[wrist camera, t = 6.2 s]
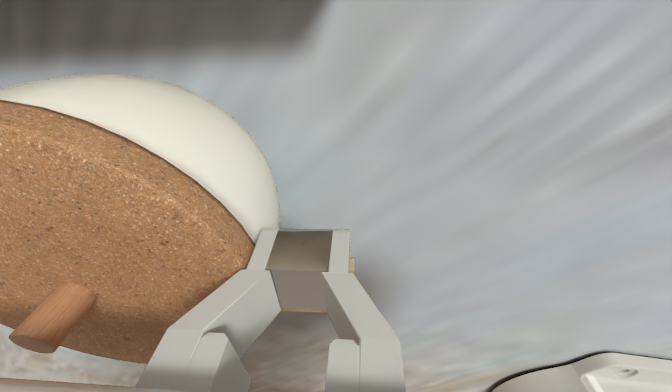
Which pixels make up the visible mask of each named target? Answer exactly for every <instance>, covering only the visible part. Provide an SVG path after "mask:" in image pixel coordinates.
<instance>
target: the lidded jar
mask: <svg viewBox="0 0 672 392" xmlns="http://www.w3.org/2000/svg"><path fill="white" fill-rule="evenodd" d="M279 227H280V203H279V196H278V190H277V186H276V182H275V179H274V176H273V173H272V170H271V167H270V165H269V163H268V161H267V159H266V157H265V155H264V154H263V152H262V150H261V149H260V148H259V146H258V145H257V143H256V142H255V141H254V139H253V138H252V137H251V135H250V134H249V133H248V132H247V131H246V130H245V129H244V128H243V127H242V126H241V125H240V123H239V122H237V121H236V120H235V119H234V118H233V117H231V116H230V115H229V114H228V113H227V112H225V111H224V110H223V109H221V108H219V107H218V106H216V105H215V104H213V103H212V102H210V101H209V100H207V99H205V98H203V97H201V96H199V95H197V94H195V93H193V92H191V91H189V90H187V89H185V88H182V87H179V86H176V85H173V84H170V83H167V82H164V81H159V80H153V79H148V78H143V77H137V76H132V75H121V74H87V75H74V76H68V77H61V78H54V79H48V80H42V81H35V82H29V83H23V84H19V85H15V86H11V87H8V88H4V89H0V323H1V324H3V325H5V326H8V327H10V328H13V329H15V330H14V331H13V332H12V333H11V334H10V335H9V339H10V340H11V341H12V342H13V343H15V344H16V345H18V346H20V347H23V348H25V349H28V350H31V351H35V352H39V353H53V352H54V351H55V350H56V349H57V348H58V347H59V346H63V347H66V348H69V349H73V350H76V351H80V352H84V353H88V354H92V355H96V356H100V357H106V358H111V359H117V360H123V361H129V362H136V363H149V361H150V359H151V357H152V356H153V354H154V352H155V350H156V348H157V347H158V345H159V343H160V341H161V339H162V338H163V336H164V334H165V332H166V331H167V329H168V328H169V327H170V326H171V325H173V324H174V323H175V322H176V321H178V320H179V319H180V318H181V317H183V316H184V315H185V314H186V313H187V312H189V311H190V310H191V309H192V308H194V307H195V306H196V305H197V304H199V303H200V302H201V301H202V300H204V299H205V298H206V297H207V296H209V295H210V294H211V293H212V292H214V291H215V290H216V289H217V288H219V287H220V286H221V285H222V284H224V283H225V282H226V281H227V280H228V279H230V278H231V277H232V276H233V275H235V274H236V273H237V272H238V271H240V270H241V269H246V268H247V265H248V263H249V260H250V258H251V255H252V253H253V250H254V248H255V245H256V243H257V240H258V238H259V235H260V233H261V231H262V230H263V229H264V228H279Z"/></svg>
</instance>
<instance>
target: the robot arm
mask: <svg viewBox="0 0 672 392" xmlns="http://www.w3.org/2000/svg"><path fill="white" fill-rule="evenodd" d="M281 308H293V309H315V310H327V314H328V316H329V318H330V320H331V322H332V324H333V326H334V328H335V330H336V333H337V335H338V337H339V339H335V340H334V341H333V342H332V343H331V344H330V347H329V356H328V366H327V376H326V385H325V392H406V391H405V381H404V372H403V363H402V353H401V344H400V340H399V339H398V337H397V336H396V334H395V333H394V332H393V330H392V329H391V327H390V326H389V324H388V323H387V321H386V320H385V319H384V317H383V316H382V314H381V313H380V311H379V310H378V308H377V307H376V306H375V304H374V303H373V301H372V300H371V298H370V297H369V296H368V294H367V293H366V291H365V290H364V288H363V287H362V285H361V284H360V283H359V281H358V280H357V278H356V277H355V275H354V274H353V273H350V230H347V229H334V230H333V229H288V228H264V229H263V230H262V231H261V233H260V235H259V238H258V240H257V243H256V245H255V248H254V250H253V253H252V255H251V258H250V260H249V263H248V265H247V268H246V269H241V270H240V271H238V272H237V273H236V274H235V275H233V276H232V277H231V278H230V279H228V280H227V281H226V282H225V283H224V284H222V285H221V286H220V287H219V288H217V289H216V290H215V291H214V292H212V293H211V294H210V295H209V296H207V297H206V298H205V299H204V300H202V301H201V302H200V303H199V304H197V305H196V306H195V307H194V308H192V309H191V310H190V311H189V312H187V313H186V314H185V315H184V316H183V317H181V318H180V319H179V320H178V321H176V322H175V323H174V324H173V325H171V326H170V327H169V328H168V329H167V331H166V332H165V334H164V336H163V338H162V339H161V341H160V343H159V345H158V347H157V348H156V350H155V352H154V354H153V356H152V357H151V359H150V361H149V363H148V365H147V366H146V368H145V370H144V372H143V374H142V375H141V377H140V379H139V381H138V383H137V384H136V386H135V387H125V386H111V385H96V384H82V383H68V382H53V381H39V380H25V379H10V378H0V392H248V391H249V387H250V383H251V379H250V377H249V375H248V373H247V371H246V369H245V368H244V366H243V364H242V362H241V361H240V359H241V358H242V357H243V356H244V355H245V353H246V352H247V351H248V350H249V349H250V347H251V346H252V345H253V344H254V342H255V341H256V340H257V339H258V338H259V336H260V335H261V334H262V333H263V331H264V330H265V329H266V328H267V327H268V325H269V324H270V323H271V322H272V321H273V319H274V318H275V317H276V316H277V314H278V313H279V312H280V311H281ZM492 392H672V360H664V359H657V358H650V357H642V356H635V355H628V354H620V353H603V354H598V355H595V356H591V357H588V358H585V359H583V360H580V361H577V362H575V363H572V364H569V365H565V366H560V367H555V368H550V369H545V370H540V371H536V372H532V373H528V374H525V375H522V376H519V377H516V378H513V379H511V380H509V381H507V382H505V383H503V384H501V385H499V386H498V387H496V388H495V389H494V390H493V391H492Z"/></svg>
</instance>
